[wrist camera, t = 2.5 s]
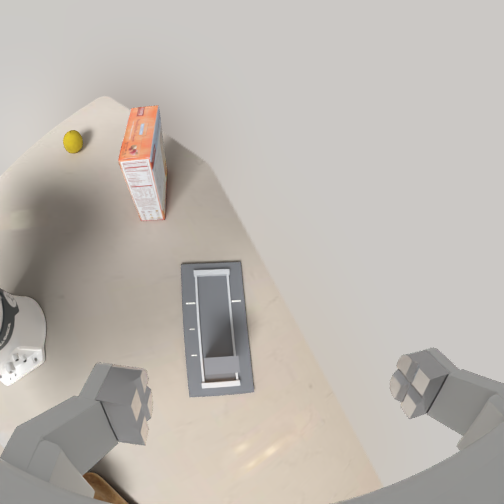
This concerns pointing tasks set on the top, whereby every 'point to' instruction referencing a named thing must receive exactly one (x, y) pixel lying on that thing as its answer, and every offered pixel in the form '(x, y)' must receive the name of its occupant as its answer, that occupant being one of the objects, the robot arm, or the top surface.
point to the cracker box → (145, 162)
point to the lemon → (72, 141)
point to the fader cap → (221, 365)
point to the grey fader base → (215, 327)
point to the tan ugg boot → (103, 489)
